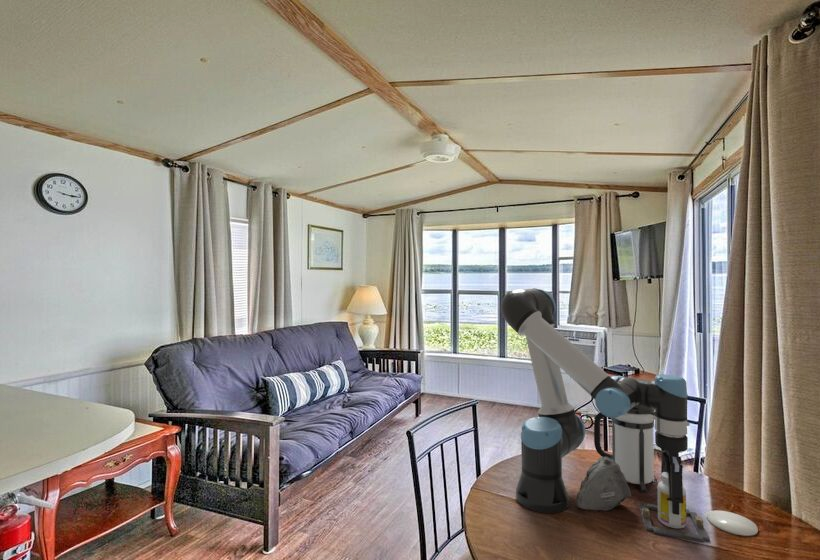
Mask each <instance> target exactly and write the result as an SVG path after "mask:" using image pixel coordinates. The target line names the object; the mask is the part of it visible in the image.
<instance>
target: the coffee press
mask: <svg viewBox="0 0 820 560" xmlns="http://www.w3.org/2000/svg"><path fill="white" fill-rule="evenodd" d="M602 418H608V417H607V416H605V415H603V414H602V413H600V412H598V413H597V414H596V415H595V418H594V422H593V440H594V441H593V442H594V448H595V450H596V452H597V454H598V455H600V456H601V457H609V458H612V459H613V460H614V461H615V462H616V463H617V464H618V465H619V466H620V469H621V472H622V473H623V474H624V476H625V479H626V482H627V483H629V484H630V483H631V484H635V485H637V487H638V489H639V491H640V492H643V493H645V492H647V487H646V484H649V483H651V482H653V483H657V482H658V478H657V477H656V476H655V470H654V467H655V465H654V464H655V462H654V459H655V458H654V457H655V453H654V448H655V447H654V443H655V442H654V441H655V439H654V438H655V436H654V428H655V409H654V408H648V407H643V406H637V405H636V406H635V407H633V408H632V409H630V410H629V411H628V412H627V413H626V414H624V415H622V416H619V417H616V418H611V419H610V420H611V424H612V425H611V426H612V427H611V430H612V431H611V432H612V433H611V434H612V435H611V437H612V438H611V441H612V442H611V443H612V447H611V448H612V454H611V453H608V452H606V451H604V450H603V448H602V446H601V421H602Z"/></svg>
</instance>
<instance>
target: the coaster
mask: <svg viewBox="0 0 820 560" xmlns="http://www.w3.org/2000/svg"><path fill="white" fill-rule="evenodd" d="M706 520H707V521H708V522H709V524H711V525H712V526H713V527H715V528H717V529H719V530H721V531H724V532H726V533H728V534H732V535H736V536H743V537H753V536H755V535H757V534H758V532H759V529H758V526H757V525H756V523H754V521H752V520H750V519H749V518H747V517H745V516H744V515H741V514H737V513H735V512H730V511H728V510H727V511H726V510H716V509H715V510H710V511H708V512H707V513H706Z"/></svg>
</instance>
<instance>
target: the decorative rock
mask: <svg viewBox="0 0 820 560" xmlns="http://www.w3.org/2000/svg"><path fill="white" fill-rule="evenodd" d="M631 496H632V493H631V489H630V487H629V485H628V482H626V479H625V476H624V474H623V473H622V472H621V469H620V466H619V465H618V464H617V463H616V462H615V461H614V460H613V459H612V458H609V457H602V456H601V457H599V458H598V459H597V461H596V462H594V463H593V464H592V465H590V466H589V468H588V470H587V471H586V476H585V478H584V480H582V481H581V482H580V487H579V490H578V492H577V493H576V507H577V508H580V509H584V510H593V511H604V512H605V511H609V510H613V509H614V508H615V507H618V506H620V505H621V503H622V502H624V501H625V500H626V499H628V498H630V497H631Z"/></svg>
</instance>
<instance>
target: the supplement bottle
mask: <svg viewBox="0 0 820 560" xmlns="http://www.w3.org/2000/svg"><path fill="white" fill-rule="evenodd" d="M660 474H661V473H660ZM661 478H662V479H661ZM660 479H661V481H659V482H658V483H657V505H658V511H657V519H658V521H659V522H660V523H661V524H662V525H664V526H666V527H669V528H672V529H684V528H685V527H686V526H687V515H686V510H687V491H686V488H685V487H684V486H683V503H681V526H676V525H671V524H669V501H668V500H667V498H669V497H670V495H669V481H668V473H667V472H663V473H662V474H661V475H660Z"/></svg>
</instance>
